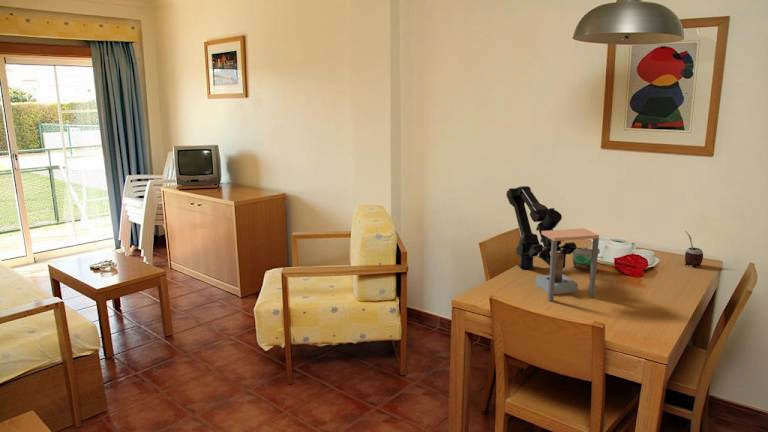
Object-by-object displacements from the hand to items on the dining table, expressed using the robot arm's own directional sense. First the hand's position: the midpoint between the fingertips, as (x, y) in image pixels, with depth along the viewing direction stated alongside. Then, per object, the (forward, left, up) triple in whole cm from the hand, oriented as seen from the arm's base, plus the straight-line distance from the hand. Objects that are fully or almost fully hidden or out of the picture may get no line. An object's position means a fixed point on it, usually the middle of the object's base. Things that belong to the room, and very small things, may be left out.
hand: (558, 268), depth 213 cm
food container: (-22, +21, -9) cm, 32 cm away
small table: (+2, 0, -9) cm, 9 cm away
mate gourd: (-22, +72, -9) cm, 76 cm away
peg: (-1, 0, -7) cm, 7 cm away
